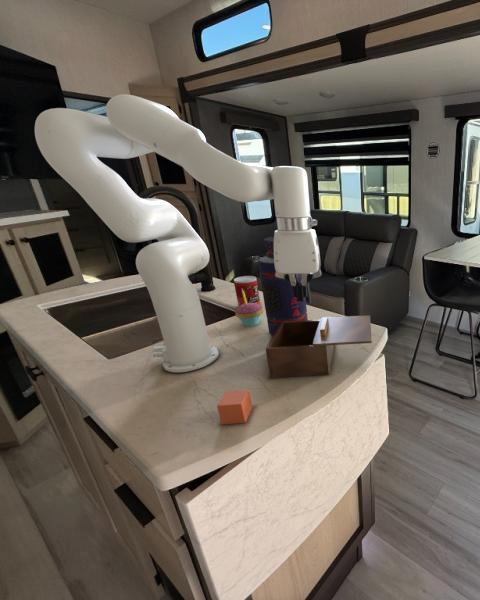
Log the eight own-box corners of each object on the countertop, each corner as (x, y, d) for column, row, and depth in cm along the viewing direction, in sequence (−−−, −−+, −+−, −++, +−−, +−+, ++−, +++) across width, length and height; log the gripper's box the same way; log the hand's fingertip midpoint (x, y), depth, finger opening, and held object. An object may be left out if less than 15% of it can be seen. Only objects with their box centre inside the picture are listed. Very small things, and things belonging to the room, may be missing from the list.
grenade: (282, 345, 93) (267, 242, 82) (262, 333, 100) (246, 237, 89) (321, 329, 102) (312, 236, 92) (300, 319, 110) (290, 232, 99)
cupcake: (232, 325, 106) (225, 291, 102) (254, 316, 113) (249, 284, 108) (248, 330, 102) (241, 295, 97) (270, 321, 108) (265, 288, 104)
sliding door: (312, 346, 75) (311, 337, 74) (320, 319, 90) (320, 311, 89) (371, 343, 77) (371, 334, 76) (370, 317, 92) (369, 309, 91)
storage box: (270, 378, 77) (265, 349, 74) (285, 346, 92) (281, 321, 89) (328, 374, 78) (326, 345, 76) (334, 344, 93) (332, 319, 91)
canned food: (252, 310, 118) (247, 282, 114) (233, 308, 120) (228, 280, 116) (265, 303, 125) (260, 276, 121) (247, 301, 127) (242, 275, 123)
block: (221, 424, 62) (216, 405, 61) (230, 409, 66) (226, 391, 65) (245, 422, 63) (241, 404, 61) (252, 407, 67) (249, 389, 65)
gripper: (328, 222, 77) (333, 294, 83) (264, 222, 75) (274, 295, 82) (325, 226, 70) (330, 304, 76) (255, 226, 68) (265, 306, 75)
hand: (301, 299), depth 79 cm, fingers closed
